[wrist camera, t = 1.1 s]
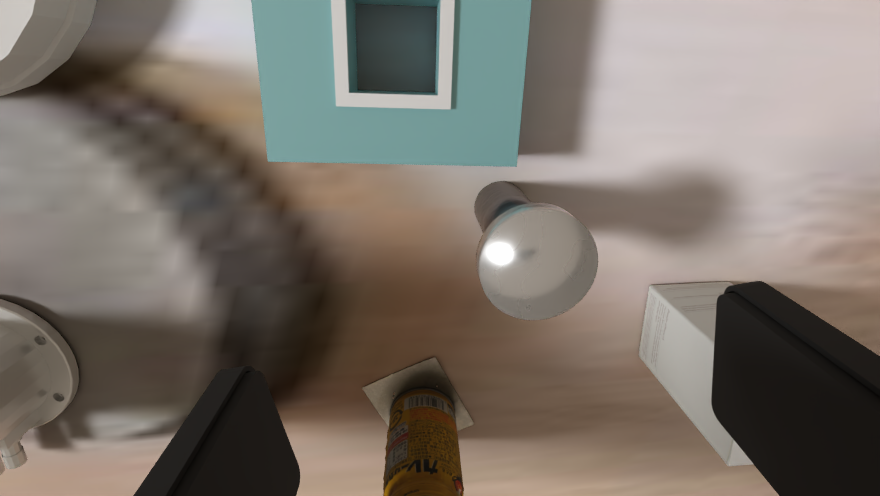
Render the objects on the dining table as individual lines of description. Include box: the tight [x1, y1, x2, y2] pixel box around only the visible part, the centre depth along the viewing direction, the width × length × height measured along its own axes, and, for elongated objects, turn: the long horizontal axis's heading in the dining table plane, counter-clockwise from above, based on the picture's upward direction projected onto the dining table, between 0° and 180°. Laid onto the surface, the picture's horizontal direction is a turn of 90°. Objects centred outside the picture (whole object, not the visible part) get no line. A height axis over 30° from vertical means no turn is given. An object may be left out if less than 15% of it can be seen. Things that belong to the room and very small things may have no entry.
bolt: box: [474, 181, 598, 320], centre depth 30 cm, size 6×6×12 cm
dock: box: [251, 0, 532, 167], centre depth 29 cm, size 14×16×5 cm
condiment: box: [362, 357, 474, 496], centre depth 37 cm, size 7×8×12 cm
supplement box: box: [639, 282, 753, 466], centre depth 34 cm, size 7×7×13 cm
